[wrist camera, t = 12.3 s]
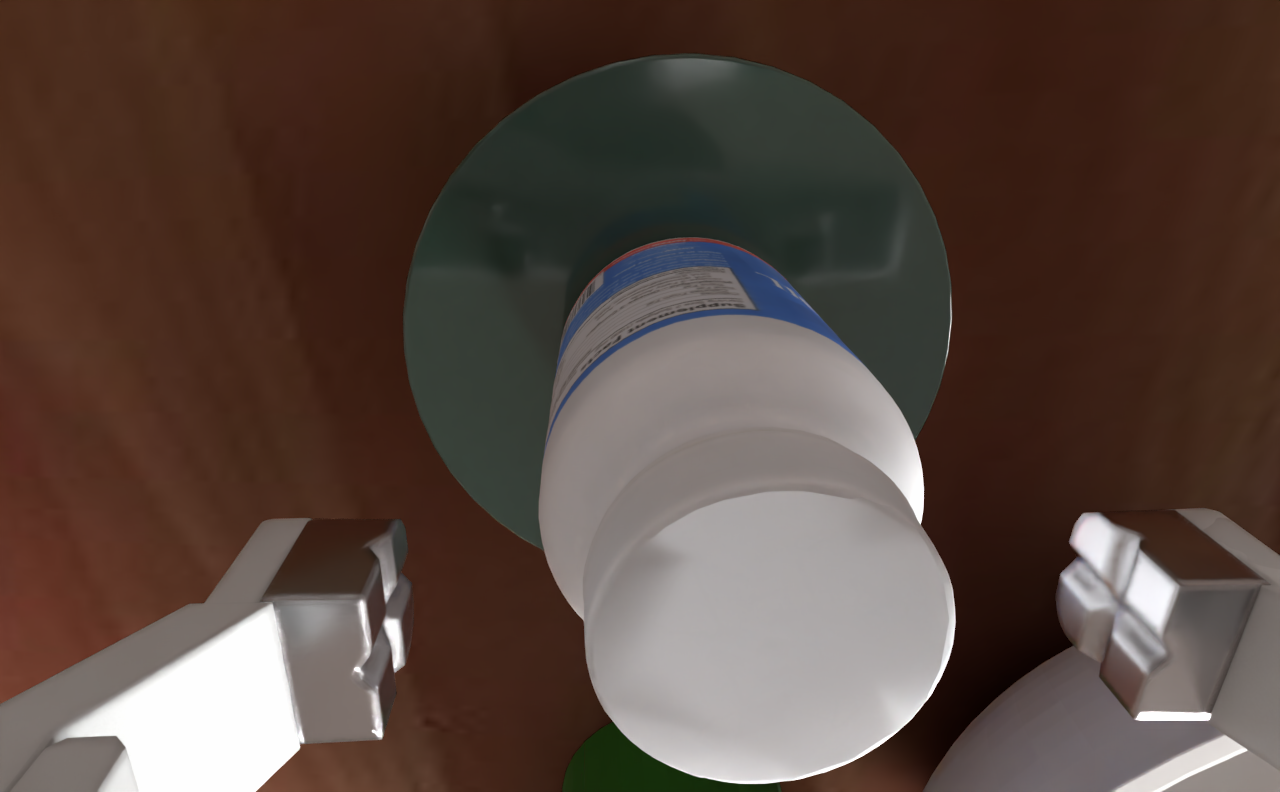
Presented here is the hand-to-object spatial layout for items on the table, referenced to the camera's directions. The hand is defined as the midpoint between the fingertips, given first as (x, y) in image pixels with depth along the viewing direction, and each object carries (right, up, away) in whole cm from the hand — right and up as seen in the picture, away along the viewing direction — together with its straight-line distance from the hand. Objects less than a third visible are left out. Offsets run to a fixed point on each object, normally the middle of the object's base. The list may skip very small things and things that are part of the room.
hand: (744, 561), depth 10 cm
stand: (-1, +5, +13) cm, 15 cm away
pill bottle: (0, +3, +8) cm, 9 cm away
